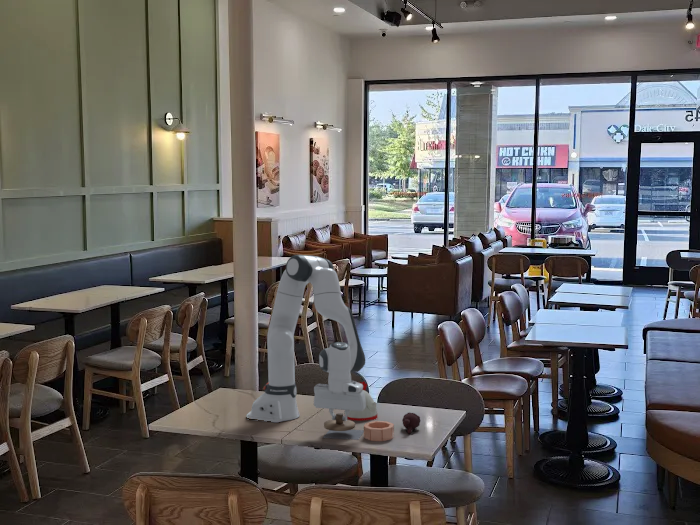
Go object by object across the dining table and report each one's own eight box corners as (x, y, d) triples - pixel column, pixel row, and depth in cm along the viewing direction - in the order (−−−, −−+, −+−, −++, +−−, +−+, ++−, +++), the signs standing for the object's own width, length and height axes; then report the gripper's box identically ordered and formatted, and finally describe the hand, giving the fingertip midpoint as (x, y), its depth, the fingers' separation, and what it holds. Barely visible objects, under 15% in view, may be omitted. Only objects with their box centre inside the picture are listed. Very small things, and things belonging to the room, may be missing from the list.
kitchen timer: (383, 416, 335) (383, 381, 334) (364, 423, 324) (363, 387, 323) (357, 411, 344) (356, 377, 342) (337, 418, 333) (336, 383, 331)
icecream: (404, 408, 323) (395, 421, 309) (421, 404, 321) (413, 417, 307) (408, 424, 324) (400, 438, 310) (426, 420, 321) (418, 434, 307)
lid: (319, 429, 304) (319, 417, 303) (329, 421, 315) (329, 409, 315) (350, 432, 300) (350, 419, 300) (358, 423, 312) (358, 411, 311)
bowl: (362, 441, 301) (361, 428, 300) (368, 433, 311) (367, 420, 311) (390, 443, 298) (390, 429, 298) (395, 434, 309) (395, 421, 308)
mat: (322, 439, 305) (322, 437, 305) (330, 430, 316) (330, 428, 316) (358, 441, 302) (358, 439, 301) (365, 431, 313) (365, 430, 313)
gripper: (311, 385, 306) (311, 420, 307) (362, 388, 301) (362, 424, 302) (316, 381, 312) (316, 416, 313) (367, 385, 307) (366, 420, 308)
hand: (339, 420), depth 308 cm, fingers closed on lid, 3 cm apart
